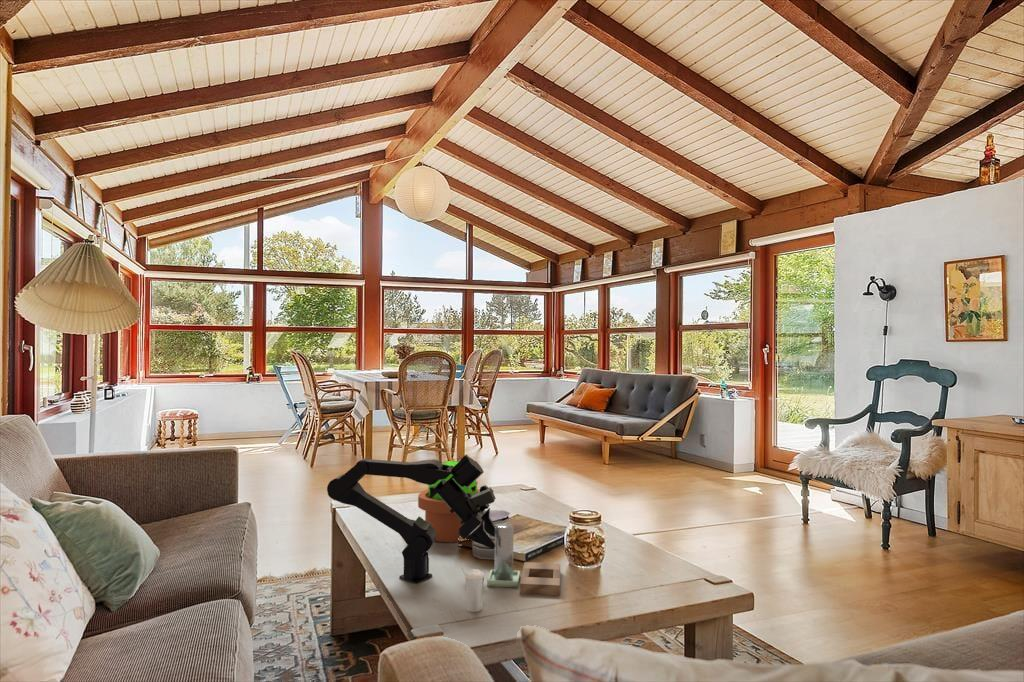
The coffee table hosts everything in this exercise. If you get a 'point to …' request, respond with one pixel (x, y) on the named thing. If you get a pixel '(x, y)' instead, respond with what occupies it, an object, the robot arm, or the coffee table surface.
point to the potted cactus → (443, 511)
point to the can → (483, 550)
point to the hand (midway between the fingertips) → (496, 541)
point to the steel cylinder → (503, 552)
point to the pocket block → (540, 578)
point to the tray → (502, 582)
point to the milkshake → (474, 589)
